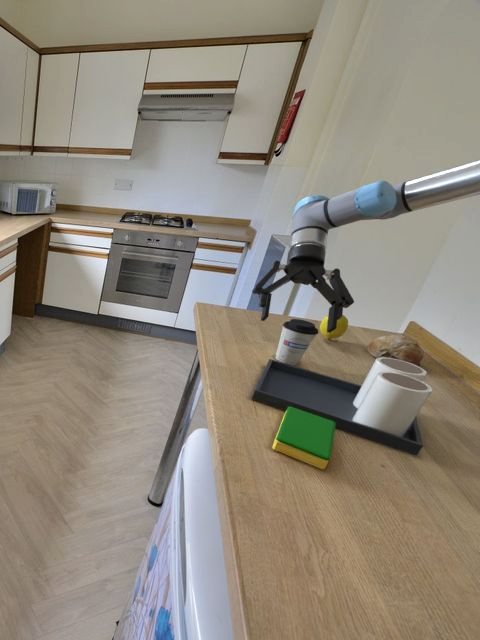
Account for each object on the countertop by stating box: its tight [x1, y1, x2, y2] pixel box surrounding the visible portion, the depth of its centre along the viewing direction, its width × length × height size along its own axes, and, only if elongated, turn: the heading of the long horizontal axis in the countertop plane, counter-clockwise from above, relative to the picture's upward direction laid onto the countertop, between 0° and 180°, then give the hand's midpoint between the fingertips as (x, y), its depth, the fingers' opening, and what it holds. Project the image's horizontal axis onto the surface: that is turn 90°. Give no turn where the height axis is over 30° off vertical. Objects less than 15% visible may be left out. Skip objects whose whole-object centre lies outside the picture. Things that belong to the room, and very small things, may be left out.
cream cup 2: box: [352, 371, 433, 437], centre depth 73 cm, size 7×7×10 cm
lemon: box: [319, 314, 349, 340], centre depth 112 cm, size 6×6×8 cm
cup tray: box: [251, 358, 424, 457], centre depth 83 cm, size 24×19×2 cm
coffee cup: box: [275, 318, 319, 366], centre depth 99 cm, size 7×7×10 cm
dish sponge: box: [271, 407, 336, 470], centre depth 71 cm, size 7×14×2 cm, turn 137°
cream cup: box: [353, 357, 428, 408], centre depth 79 cm, size 7×7×10 cm
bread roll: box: [366, 334, 425, 366], centre depth 104 cm, size 10×10×8 cm
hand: (297, 324), depth 100 cm, fingers open, 13 cm apart
